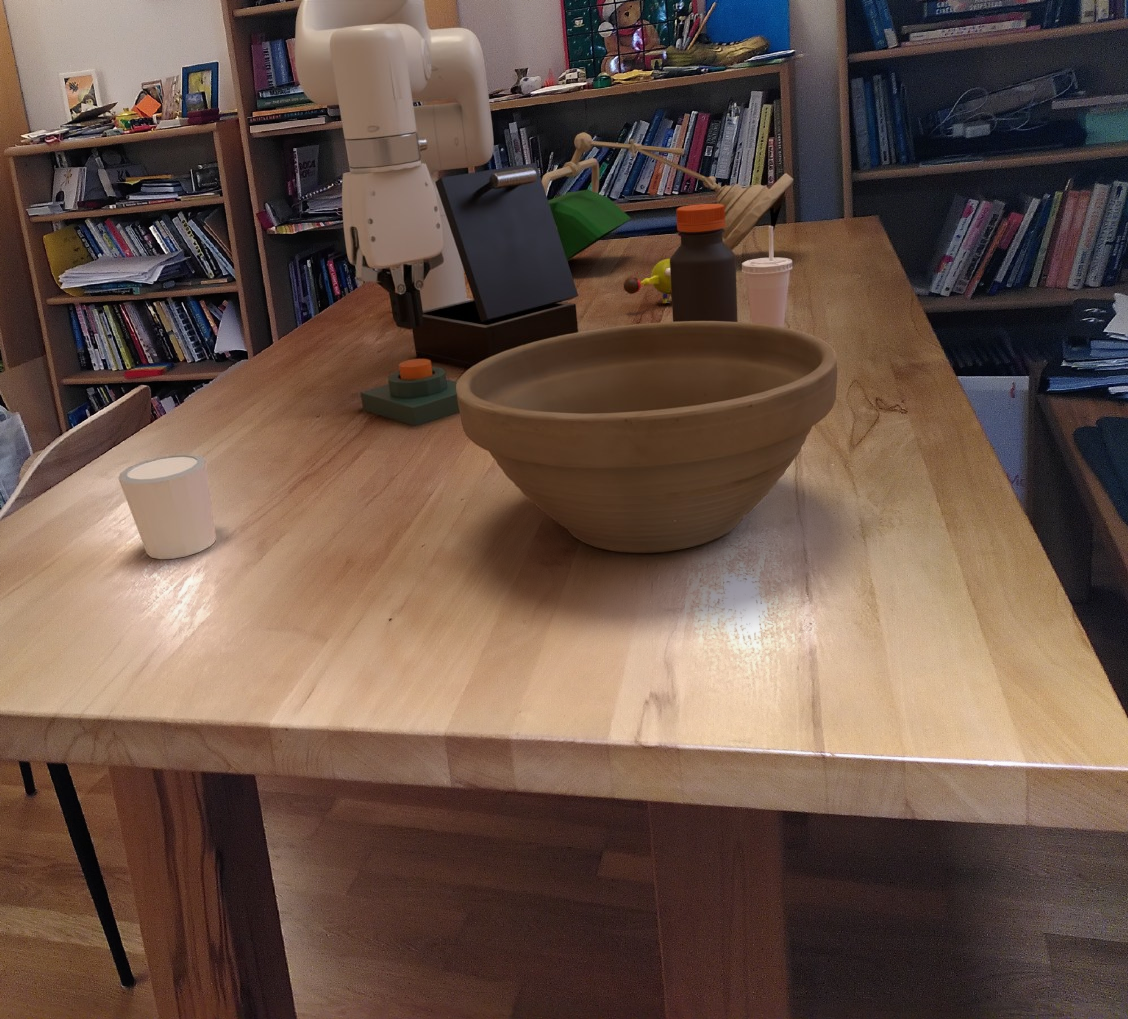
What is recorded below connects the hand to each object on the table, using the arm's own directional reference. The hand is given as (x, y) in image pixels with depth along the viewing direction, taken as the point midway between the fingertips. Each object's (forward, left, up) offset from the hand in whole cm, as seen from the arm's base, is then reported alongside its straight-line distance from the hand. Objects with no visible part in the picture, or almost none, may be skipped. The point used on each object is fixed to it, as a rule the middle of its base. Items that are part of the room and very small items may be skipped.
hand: (409, 326), depth 117 cm
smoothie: (+14, +45, -10) cm, 48 cm away
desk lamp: (-38, +80, -10) cm, 89 cm away
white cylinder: (+16, -35, -10) cm, 40 cm away
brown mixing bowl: (+44, -7, -10) cm, 46 cm away
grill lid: (-8, +21, +5) cm, 23 cm away
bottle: (+25, +21, -10) cm, 34 cm away
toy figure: (-13, +55, -10) cm, 57 cm away
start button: (0, 0, -6) cm, 6 cm away
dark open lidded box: (-13, +21, -9) cm, 26 cm away
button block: (0, 0, -9) cm, 9 cm away
